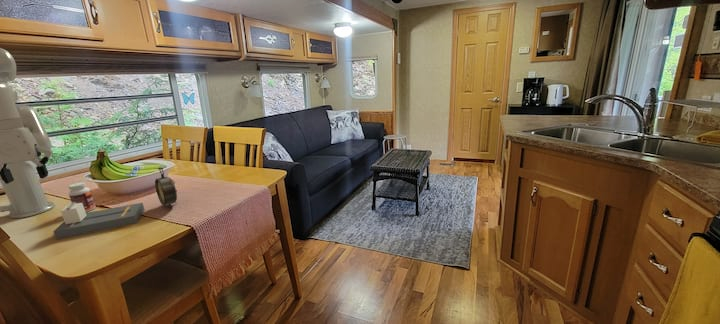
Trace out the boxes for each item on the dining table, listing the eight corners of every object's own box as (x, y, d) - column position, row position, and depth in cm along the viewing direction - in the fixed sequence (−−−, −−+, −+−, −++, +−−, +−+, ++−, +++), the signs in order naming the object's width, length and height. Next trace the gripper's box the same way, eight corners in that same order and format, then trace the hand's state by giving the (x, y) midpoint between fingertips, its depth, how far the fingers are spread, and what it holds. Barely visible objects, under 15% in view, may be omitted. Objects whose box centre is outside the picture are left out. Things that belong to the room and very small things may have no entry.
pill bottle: (94, 210, 117) (85, 184, 113) (74, 215, 113) (63, 188, 110) (97, 205, 122) (88, 180, 118) (77, 209, 118) (67, 184, 115)
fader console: (56, 239, 96) (53, 231, 96) (72, 223, 107) (69, 215, 106) (136, 223, 105) (134, 215, 104) (144, 209, 115) (142, 202, 114)
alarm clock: (159, 204, 120) (148, 166, 115) (173, 199, 123) (164, 162, 118) (167, 212, 112) (156, 172, 107) (182, 206, 116) (172, 168, 111)
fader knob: (65, 224, 99) (59, 209, 98) (72, 218, 104) (66, 203, 102) (80, 221, 101) (75, 206, 99) (86, 215, 105) (81, 201, 103)
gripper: (-47, 131, 82) (-19, 189, 88) (36, 123, 89) (57, 178, 94) (-27, 126, 89) (-3, 181, 94) (48, 120, 95) (67, 171, 101)
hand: (27, 179), depth 94 cm, fingers open, 7 cm apart
